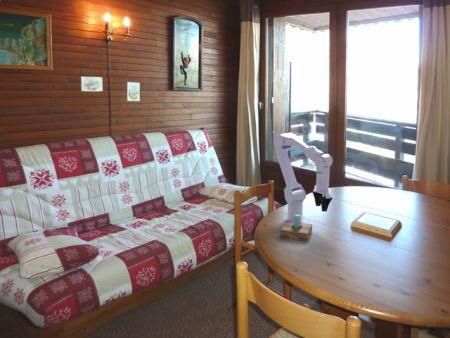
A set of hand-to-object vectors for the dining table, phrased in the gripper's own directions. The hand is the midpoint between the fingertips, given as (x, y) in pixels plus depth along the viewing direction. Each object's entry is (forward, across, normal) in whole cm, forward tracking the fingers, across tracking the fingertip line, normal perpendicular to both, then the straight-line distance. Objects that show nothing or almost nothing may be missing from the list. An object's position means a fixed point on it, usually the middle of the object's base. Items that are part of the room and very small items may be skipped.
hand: (321, 208), depth 183 cm
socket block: (+10, +5, -13) cm, 17 cm away
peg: (+10, +5, -13) cm, 17 cm away
